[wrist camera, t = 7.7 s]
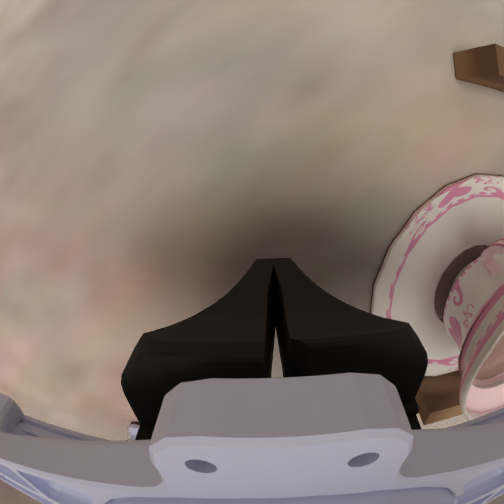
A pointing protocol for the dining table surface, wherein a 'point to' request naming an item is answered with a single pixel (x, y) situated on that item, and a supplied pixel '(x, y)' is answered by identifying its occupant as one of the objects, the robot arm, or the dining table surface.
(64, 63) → the dining table surface
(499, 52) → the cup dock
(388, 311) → the teacup
